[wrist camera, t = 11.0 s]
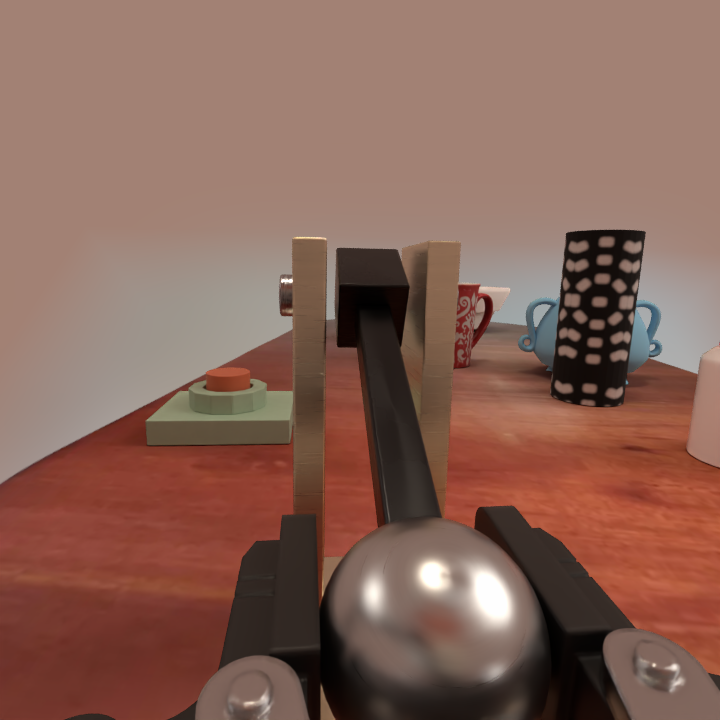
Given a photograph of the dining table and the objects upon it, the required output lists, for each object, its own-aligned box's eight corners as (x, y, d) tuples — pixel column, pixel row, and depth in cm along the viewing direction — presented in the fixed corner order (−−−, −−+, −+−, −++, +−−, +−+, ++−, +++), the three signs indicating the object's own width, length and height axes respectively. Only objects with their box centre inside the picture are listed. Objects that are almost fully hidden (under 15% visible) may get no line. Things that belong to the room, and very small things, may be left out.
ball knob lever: (548, 806, 7) (647, 728, 5) (314, 827, 7) (315, 752, 5) (407, 320, 19) (419, 233, 16) (316, 319, 18) (316, 230, 16)
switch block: (146, 445, 40) (143, 400, 39) (180, 411, 50) (178, 374, 49) (289, 444, 41) (289, 399, 40) (294, 410, 51) (294, 374, 50)
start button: (202, 395, 42) (201, 376, 42) (211, 384, 46) (211, 367, 46) (247, 395, 43) (246, 376, 43) (252, 384, 47) (252, 367, 46)
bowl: (403, 328, 129) (405, 285, 126) (449, 323, 144) (451, 285, 142) (474, 337, 113) (478, 288, 111) (517, 330, 129) (520, 288, 127)
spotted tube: (619, 393, 61) (639, 235, 58) (627, 410, 54) (651, 229, 50) (550, 386, 64) (565, 236, 61) (549, 401, 57) (566, 230, 53)
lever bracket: (483, 756, 15) (527, 237, 12) (257, 773, 14) (245, 228, 11) (421, 574, 24) (437, 251, 21) (279, 580, 23) (276, 247, 20)
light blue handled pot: (564, 361, 84) (572, 281, 81) (684, 384, 68) (699, 285, 65) (500, 369, 75) (507, 281, 73) (620, 398, 59) (634, 285, 57)
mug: (437, 370, 73) (441, 283, 71) (411, 360, 82) (414, 281, 79) (504, 367, 78) (511, 284, 75) (473, 357, 86) (478, 282, 83)
